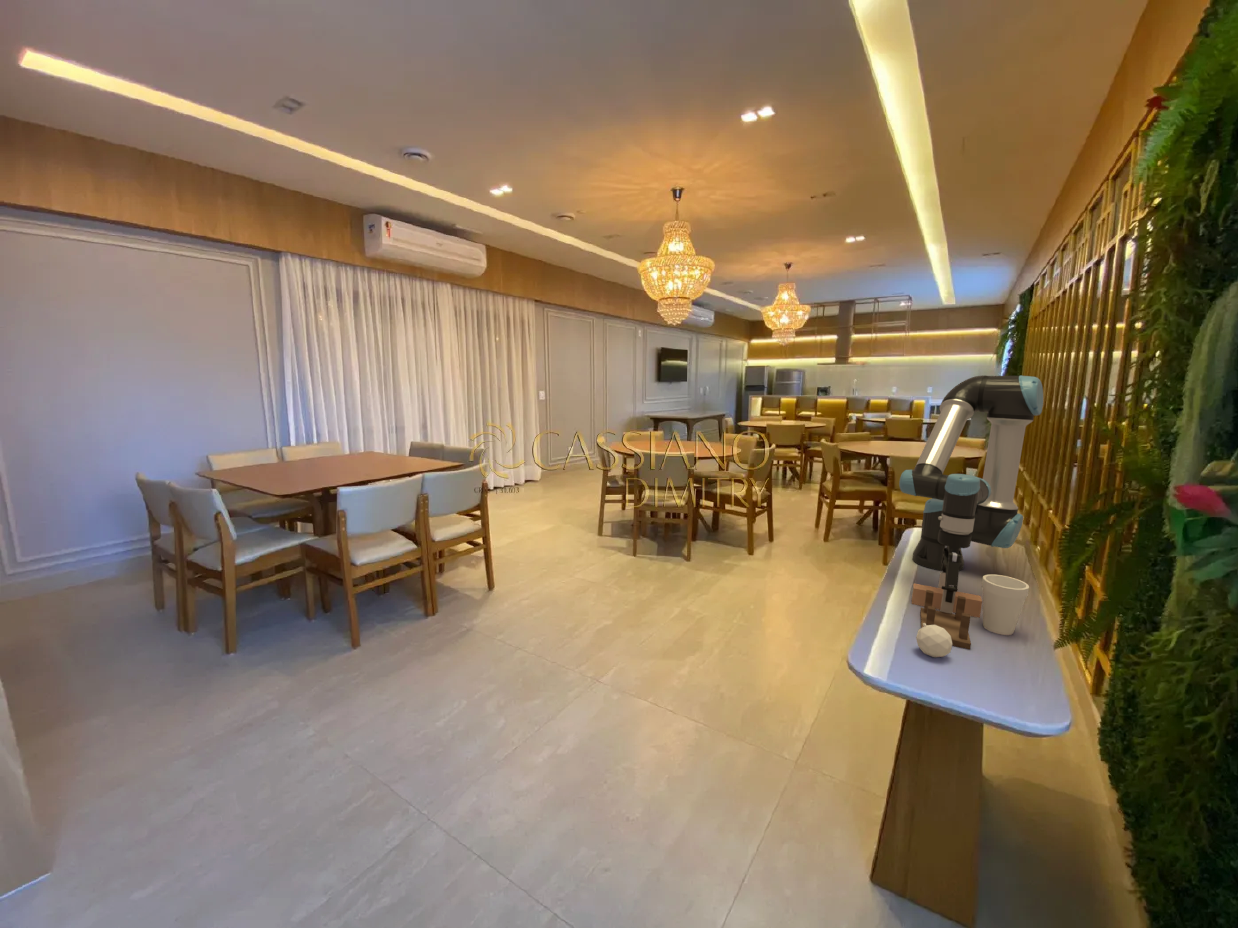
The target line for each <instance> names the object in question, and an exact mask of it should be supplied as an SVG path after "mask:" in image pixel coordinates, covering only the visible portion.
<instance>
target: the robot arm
mask: <svg viewBox="0 0 1238 928" xmlns="http://www.w3.org/2000/svg"><path fill="white" fill-rule="evenodd" d="M1043 389H1044V388H1043V384H1042V381H1041V380H1040V379H1039V377H1037V376H1030V375H1022V374H1021V375H977V376H973V377H969V378H967V379H965V380H963V381H961V382H960V383H958V384H957V385H955V386H954V387H953V388H952V389H950V391H949V392H947V393H946V395H945V396H944V397H943V399H942V401H941V403H940V405H939V411H940V414H939V415H938V417H937V419H936V422H935V424H934V425H933V428H932V430H931V433H930V434H929V436H928V439H927V441H926V444H925V445H924V446H923V449H922V452H921V453H920V456H919V458H918V460H917V462H916V465H915V466H914V468H913V469H905V470H904V471H902V473H901V475H900V477H899V481H898V483H899V485H898V486H899V490H900V491H901V493H903V494H906V495H910V496H913V497H922V498H928V500H927V501H925V505H924V509H923V511H922V513H923V516H922V526H921V533H920V539H919V541H918V542H917V545H916V546H915V548H914V551H913V552H912V561H913V562H914V563H916V564H918V565H919V566H922V567H925V568H928V569H932V570H937V571H940V573H939V579H938V584H937V585H938V586H937V588H941V589H943V596H942V602H941V609H940V610H939V611H940V612H945V613H950V614H954V612H953V607H954V600H955V594H956V592H959V590H958V586H959V572H960V571H961V570H963V569H964V565H965V560H964V557H963V552H962V549H968V548H969V547H971V543H972V542H974V543H978V544H981V545H985V546H990V547H992V548H993V547H995V548H1001V549H1009V548H1011V547H1012V546H1013V545H1014V543H1015V542H1016V540H1017V538H1018V536H1019V534H1020V531H1021V529H1022V526H1023V523H1024V522H1023V521H1024V516H1023V515H1022V514H1021V513H1018V511H1019V506H1017V504H1015V502H1014V498H1015V492H1016V486H1017V482H1018V481H1017V480H1018V474H1019V469H1020V468H1019V467H1020V463H1021V456H1022V451H1023V445H1024V440H1025V438H1024V437H1025V434H1026V428H1027V426H1028V425H1030V424H1031V423H1032V422H1034V417H1035V416H1040V415H1041V414H1042V412H1043V407H1044V390H1043ZM975 413H986V419H987V420H988V422H989V423H990V424H991V426H990V431H989V437H988V442H987V450H986V457H985V463H984V469H983V476H982V478H981V477H977V476H975V475H970V474H964V473H951V474H949V475H947V474H944V471H945V469H946V467H947V465H948V463H949V462H950V461H949V460H950V458H951V456H952V454H953V451H954V449H955V448H956V445H957V442H958V440H959V438H960V436H961V433H962V431H963V429H964V428H965V425H966V422H967V421H968V420H970V418H973V416H974V414H975Z"/></svg>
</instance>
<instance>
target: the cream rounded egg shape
mask: <svg viewBox="0 0 1238 928" xmlns="http://www.w3.org/2000/svg"><path fill="white" fill-rule="evenodd" d="M923 626H924V627H922V628H921V627H920V628H919V629H918V631H917V634H916V637H915V639H916V643H917V647H919V649H920V650H921V652H923V654H924V655H928V656H930V657H932V658H940V657H941V658H943V657H945V656H947V655H948V654H950V653H951V651H952V647H953V646H952V639H951V636H950V634H949V633H948V632H947V631H946V630H945V629H944V628H942V627H939V626H937V625H926V624H925V623H923Z"/></svg>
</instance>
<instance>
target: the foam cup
mask: <svg viewBox="0 0 1238 928" xmlns="http://www.w3.org/2000/svg"><path fill="white" fill-rule="evenodd" d="M981 588H982V627H983V628H984V629H985V630H987V631H989V632H991V633H994V634H996V635H1000V636H1001V635H1002V636H1012V635H1014V632H1015V629H1016V627H1017V624H1018V622H1019V619H1020V615H1021V613H1022V610H1023V609H1024V608H1023V607H1024V606H1025V605H1024V604H1025V601H1026V599H1027V598H1028V595H1029V592H1030V591H1029V589H1030V585H1029V584H1028V583H1026V582H1025V581H1023V580H1020V579H1018V578H1016V577H1015V578H1014V577H1010V576H1008V575H1001V574H985V575H983V576H982V583H981Z"/></svg>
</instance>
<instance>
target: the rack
mask: <svg viewBox="0 0 1238 928" xmlns="http://www.w3.org/2000/svg"><path fill="white" fill-rule="evenodd" d="M933 595H934V592H933V591H930V590H926V597H925V605H924V606H923V607H920V612H919V613H920V614H919V615H920V629H921V628H922V627H924V626H923V623H925V624H926V625H937V626H939V627H942V628H944V629H945V630H946V631H947V632H948V633H949V634H950V636H951V639H952V647H957V648H961V649H965V650H969V651H970V650H971V647H972V642H971V638H970V634H969V629H970V624H971V616H970V614H966V613H964V609H965V602H966V598H965V597H962V596H958V599H957V606H956V613H952V614H950V613H945V612H940V610H937V609H936V608H935V607H932V602H933Z"/></svg>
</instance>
